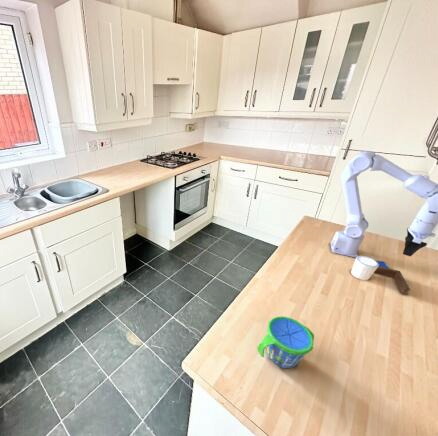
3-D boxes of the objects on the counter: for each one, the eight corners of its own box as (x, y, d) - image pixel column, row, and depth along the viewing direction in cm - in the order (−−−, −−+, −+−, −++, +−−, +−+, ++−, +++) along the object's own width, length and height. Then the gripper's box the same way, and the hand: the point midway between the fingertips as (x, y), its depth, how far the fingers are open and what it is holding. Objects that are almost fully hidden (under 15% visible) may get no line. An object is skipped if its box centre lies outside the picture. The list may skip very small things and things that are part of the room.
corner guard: (378, 288, 90) (382, 282, 88) (371, 270, 98) (374, 265, 97) (405, 295, 87) (410, 289, 85) (396, 276, 95) (399, 270, 93)
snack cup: (264, 378, 63) (273, 355, 58) (245, 341, 72) (252, 318, 67) (320, 372, 64) (333, 348, 59) (295, 336, 73) (304, 313, 68)
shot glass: (363, 269, 99) (370, 256, 95) (375, 281, 93) (383, 267, 89) (345, 268, 99) (352, 255, 96) (356, 280, 93) (363, 266, 90)
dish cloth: (366, 269, 99) (367, 267, 99) (360, 259, 105) (360, 257, 104) (390, 273, 97) (391, 271, 96) (383, 263, 102) (383, 261, 102)
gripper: (442, 232, 81) (421, 263, 87) (442, 217, 89) (422, 247, 96) (413, 224, 85) (394, 255, 92) (415, 211, 94) (398, 240, 100)
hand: (407, 250), depth 94 cm, fingers open, 7 cm apart
